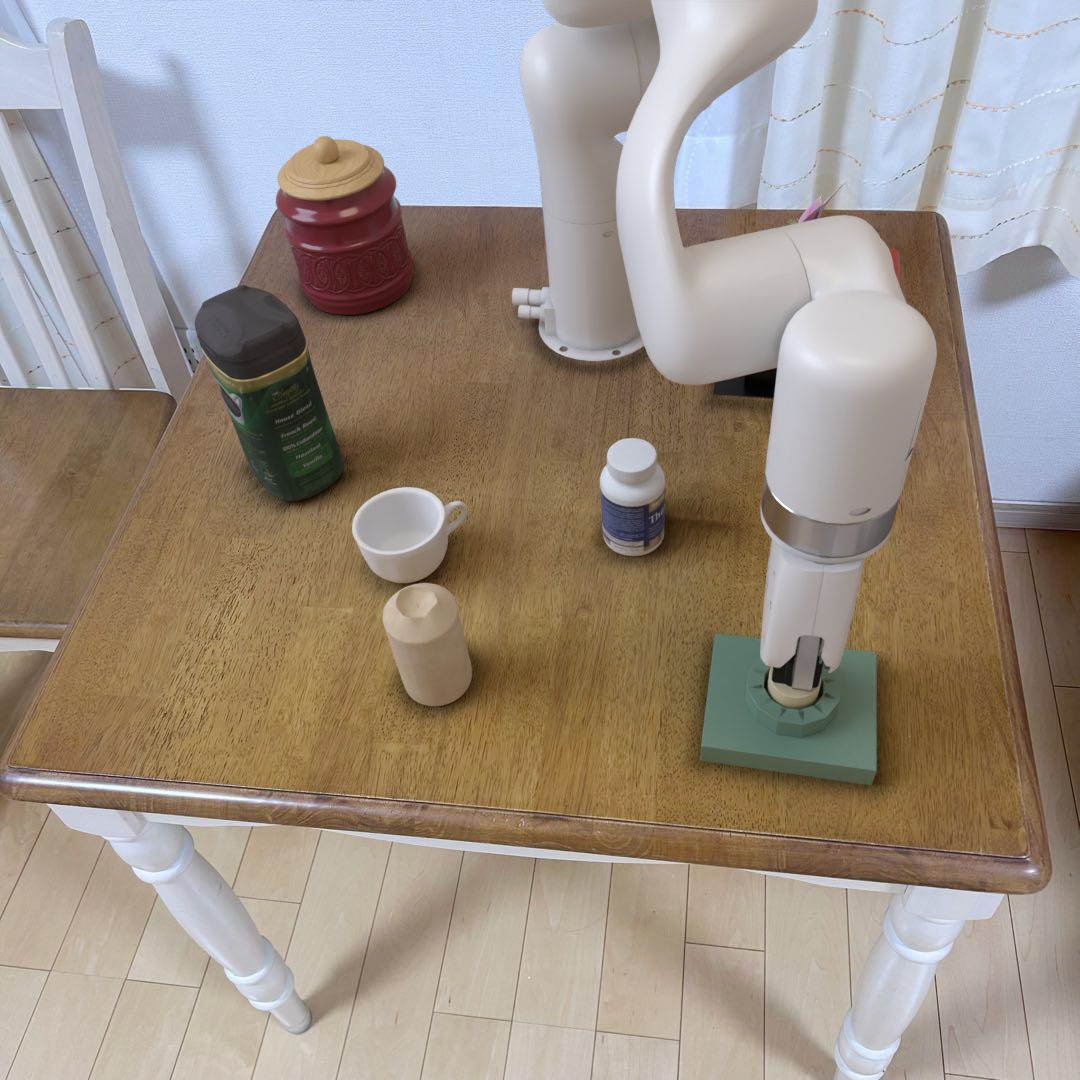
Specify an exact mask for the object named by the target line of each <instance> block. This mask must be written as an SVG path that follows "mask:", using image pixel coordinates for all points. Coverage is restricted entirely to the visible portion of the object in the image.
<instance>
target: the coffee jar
mask: <svg viewBox="0 0 1080 1080" xmlns="http://www.w3.org/2000/svg"><path fill="white" fill-rule="evenodd" d="M194 329H195V333H196V338H197V339H198V343H199V346H200V348H201V350H202V353H203V355H204V357H205V360H206V361H207V363H208V366H209V368H210V370H211V373H212V375H213V377H214V379H215V382H216V384H217V387H218V389H219V392H220V394H221V396H222V399H223V401H224V404H225V407H226V410H227V412H228V415H229V418H230V420H231V422H232V424H233V427H234V430H235V432H236V435H237V438H238V440H239V443H240V445H241V449H242V451H243V453H244V456H245V458H246V461H247V464H248V466H249V468H250V470H251V472H252V474H253V476H254V477H255V478H256V480H257V481H258V482H259V483H260V485H261V486H262V487H263V488H264V489H265V490H266V491H267V492H268V493H270V494H271V495H272V497H275V498H276V499H278V500H280V501H283V502H296V501H297V502H298V501H302V500H304V499H307V498H311V497H313V496H315V495H317V494H320V493H322V492H323V491H324V490H327V489H328V488H330V487H331V486H332V485H333V484H334V483H336V481H337V480H338V479H339V478H340V477H341V476H342V474H343V471H344V468H345V464H344V460H343V456H342V452H341V449H340V447H339V444H338V443H339V442H338V440H337V438H336V435H335V432H334V429H333V426H332V422H331V420H330V417H329V414H328V411H327V407H326V404H325V400H324V398H323V394H322V391H321V389H320V385H319V383H318V379H317V376H316V373H315V370H314V366H313V363H312V360H311V355H310V349H309V345H308V341H307V338H306V336H305V333H304V331H303V328H302V326H301V324H300V321H299V319H298V317H297V315H296V314H295V312H293V311H292V310H291V308H289V306H287V304H286V303H285V302H283V300H281V299H279V297H277V296H276V295H274V294H273V293H272V292H269V291H267V290H264V289H262V288H257V287H253V286H248V285H245V284H241V285H238V286H235V287H233V288H230V289H228V290H225V291H224V292H221V293H219V294H216V295H214V296H212V297H210V298H208V299H206V300H204V301H203V302H202V303H201V306H200V308H199V309H198V311H197V313H196V315H195V319H194Z"/></svg>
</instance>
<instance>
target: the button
mask: <svg viewBox="0 0 1080 1080" xmlns="http://www.w3.org/2000/svg"><path fill="white" fill-rule="evenodd" d="M772 672H773V667H771V668H770V672H769V679H768V685H767V689H768V694H769V696H770V698H771V699H772V700H773V701H774V702H776V703H778V704H779V705H781V706H782V707H784V708H790V709H797V710H801V709H804V708H807V707H810V706H812V705H813V704H814V703H815V701H816V700H817V698H818V694H819V689H820V685H821V677H820V682H819V686H818V687H816V688H812V690H811V692H810V691H803V690H795V689H792V687H789V686H787V685H786V684H781V683H775V682H773V681H772Z"/></svg>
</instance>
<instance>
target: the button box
mask: <svg viewBox="0 0 1080 1080" xmlns="http://www.w3.org/2000/svg"><path fill="white" fill-rule="evenodd" d="M760 646H761V637H760V638H758V637H752V636H743V635H734V634H726V633H717V632H716V633H714V636H713V646H712V654H711V661H710V670H709V678H708V684H707V685H708V687H707V693H706V694H707V695H706V703H705V711H704V718H703V726H702V735H701V742H700V752H699V753H700V756H699V760H700V761H701V762H706V763H713V764H719V765H727V766H728V765H729V766H735V767H741V768H748V769H753V770H754V769H755V770H761V771H769V772H776V773H782V774H788V775H796V776H803V777H808V778H809V777H810V778H817V779H822V780H823V779H824V780H829V781H838V782H842V783H843V782H844V783H851V784H858V785H865V786H872V785H873V783H874V780H875V777H876V774H877V771H878V769H877V768H878V723H877V722H878V710H877V709H878V698H877V697H878V695H877V693H878V692H877V691H878V690H877V689H878V687H877V685H878V683H877V681H878V675H877V674H878V673H877V672H878V670H877V669H878V668H877V666H878V663H877V661H878V660H877V659H878V658H877V657H878V656H877V655H878V654H877V653H878V652H874V651H866V650H858V649H849V648H845V649H844V653H843V656H842V659H841V662H840V665H839V667H838V668H837V669H836V670H835V671H833V672H831V673H828V670H824V664H823V668H822V673H821V685H820V689H819V694H818V698H817V700H816V701H815V703H814V704H813V705H812V706H810V707H807V708H804V709H801V710H797V709H790V708H784V707H782V706H781V705H779V704H778V703H776V702H774V701H773V700H772V699H771V698H770V696H769V694H768V689H767V685H768V679H769V672H770V668H771V666H766V665H765V664H764V662H763V661H762V659H761V657H760Z"/></svg>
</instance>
